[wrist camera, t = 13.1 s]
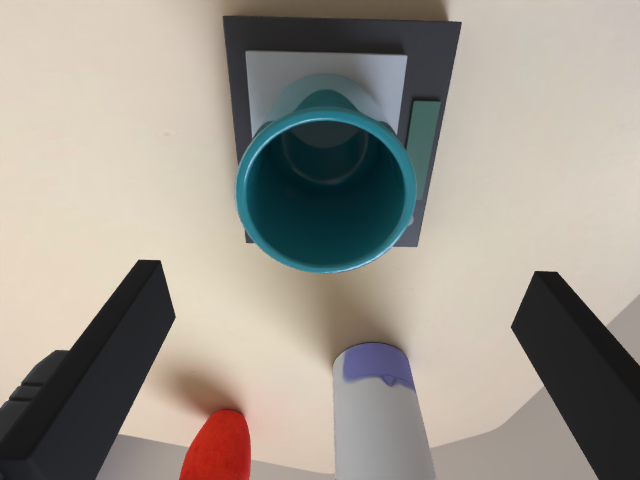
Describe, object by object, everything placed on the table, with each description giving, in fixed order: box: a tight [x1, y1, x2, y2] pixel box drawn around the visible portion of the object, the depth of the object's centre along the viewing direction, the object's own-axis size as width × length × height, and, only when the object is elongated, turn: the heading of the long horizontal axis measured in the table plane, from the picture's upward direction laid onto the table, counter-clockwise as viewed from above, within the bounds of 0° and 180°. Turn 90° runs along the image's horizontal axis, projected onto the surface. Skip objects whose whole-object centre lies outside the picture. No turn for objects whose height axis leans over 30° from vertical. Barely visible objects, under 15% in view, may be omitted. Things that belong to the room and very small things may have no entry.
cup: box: [235, 74, 417, 273], centre depth 23 cm, size 9×12×11 cm
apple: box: [179, 410, 251, 480], centre depth 49 cm, size 9×9×11 cm
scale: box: [223, 16, 462, 247], centre depth 30 cm, size 18×16×4 cm
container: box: [333, 343, 437, 480], centre depth 39 cm, size 10×10×20 cm
